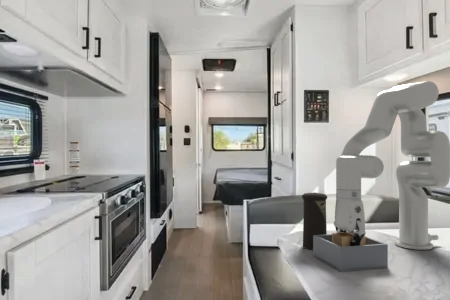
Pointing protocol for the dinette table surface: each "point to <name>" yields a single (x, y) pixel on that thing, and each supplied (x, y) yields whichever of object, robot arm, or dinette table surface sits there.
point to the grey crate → (350, 254)
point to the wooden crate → (345, 239)
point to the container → (313, 217)
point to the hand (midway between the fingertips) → (348, 251)
